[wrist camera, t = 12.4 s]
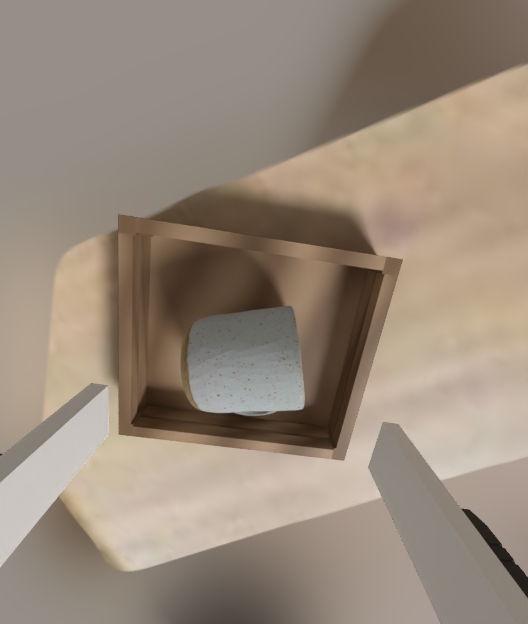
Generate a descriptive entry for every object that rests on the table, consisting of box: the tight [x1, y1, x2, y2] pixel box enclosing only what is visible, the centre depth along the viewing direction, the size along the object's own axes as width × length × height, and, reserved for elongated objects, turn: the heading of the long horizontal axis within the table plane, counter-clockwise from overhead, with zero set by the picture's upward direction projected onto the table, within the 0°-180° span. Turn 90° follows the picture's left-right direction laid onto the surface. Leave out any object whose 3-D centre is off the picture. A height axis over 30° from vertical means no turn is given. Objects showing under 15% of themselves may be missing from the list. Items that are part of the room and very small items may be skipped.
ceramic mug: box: [180, 306, 305, 416], centre depth 19 cm, size 11×8×8 cm
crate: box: [118, 215, 403, 460], centre depth 22 cm, size 20×18×4 cm
